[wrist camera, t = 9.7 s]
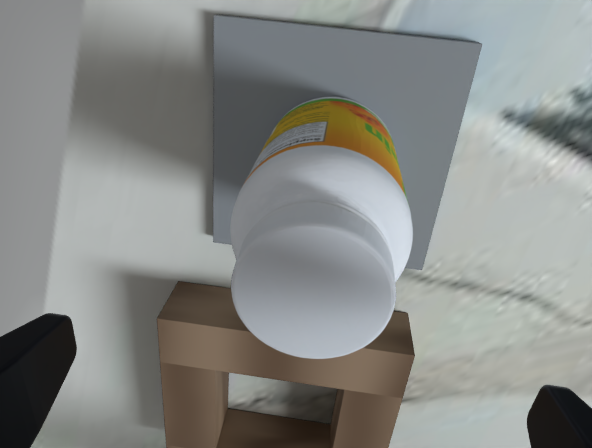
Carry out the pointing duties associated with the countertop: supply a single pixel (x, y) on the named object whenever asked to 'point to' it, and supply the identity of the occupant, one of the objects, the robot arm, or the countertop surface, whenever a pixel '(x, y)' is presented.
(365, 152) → the supplement bottle
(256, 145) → the grey rubber mat
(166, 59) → the countertop surface
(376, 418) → the walnut open tray
